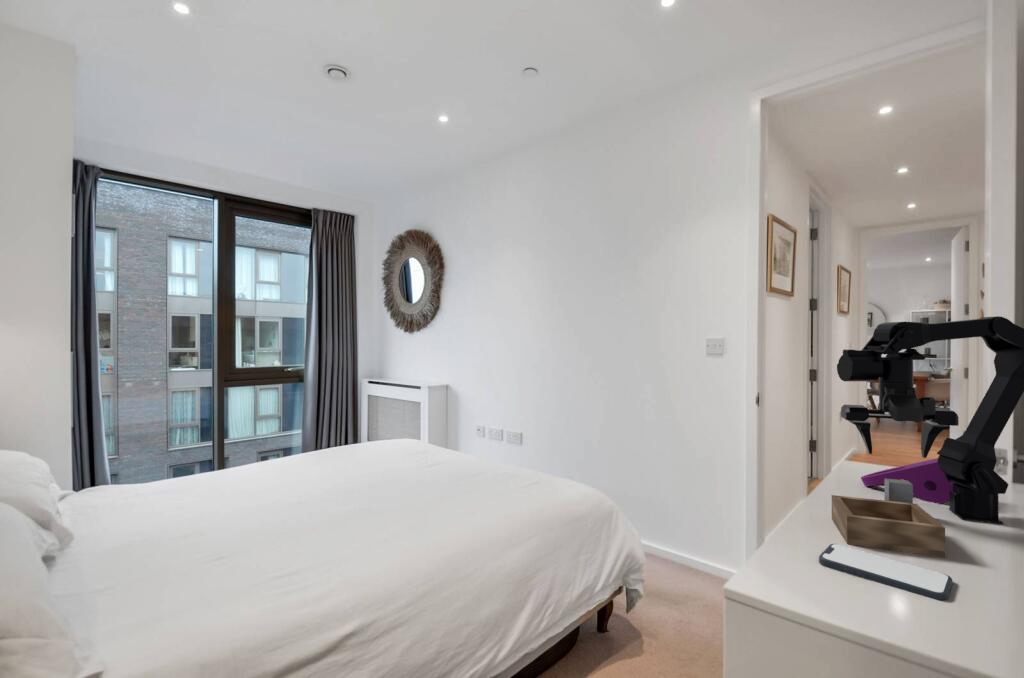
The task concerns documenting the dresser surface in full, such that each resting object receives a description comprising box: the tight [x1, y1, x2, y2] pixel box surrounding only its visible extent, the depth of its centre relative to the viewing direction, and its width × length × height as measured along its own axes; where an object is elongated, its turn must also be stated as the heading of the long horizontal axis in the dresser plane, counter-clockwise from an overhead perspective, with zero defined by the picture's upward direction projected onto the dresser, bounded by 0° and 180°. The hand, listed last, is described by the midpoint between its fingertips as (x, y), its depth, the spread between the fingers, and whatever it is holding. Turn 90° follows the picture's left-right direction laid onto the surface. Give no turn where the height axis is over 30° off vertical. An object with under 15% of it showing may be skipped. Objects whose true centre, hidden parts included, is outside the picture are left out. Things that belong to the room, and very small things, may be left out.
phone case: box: [818, 543, 953, 602], centre depth 77 cm, size 9×2×16 cm
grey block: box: [884, 479, 914, 503], centre depth 104 cm, size 4×6×7 cm, turn 157°
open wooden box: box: [831, 494, 946, 558], centre depth 91 cm, size 14×13×5 cm
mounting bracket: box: [860, 457, 956, 504], centre depth 117 cm, size 9×8×18 cm
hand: (896, 455), depth 102 cm, fingers open, 9 cm apart
